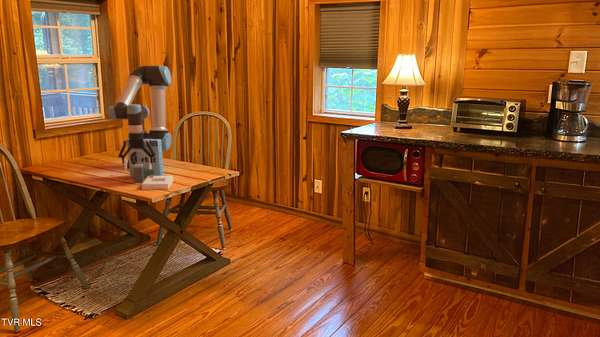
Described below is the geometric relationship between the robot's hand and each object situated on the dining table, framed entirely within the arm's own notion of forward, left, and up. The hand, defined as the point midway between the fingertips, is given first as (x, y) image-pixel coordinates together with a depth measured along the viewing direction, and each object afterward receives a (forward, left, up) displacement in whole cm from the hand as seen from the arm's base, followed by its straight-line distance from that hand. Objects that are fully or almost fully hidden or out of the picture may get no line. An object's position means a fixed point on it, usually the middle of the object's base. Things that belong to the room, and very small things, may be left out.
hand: (138, 169), depth 279 cm
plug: (0, 0, -8) cm, 8 cm away
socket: (+8, +12, -8) cm, 16 cm away
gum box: (-11, +2, -8) cm, 14 cm away
